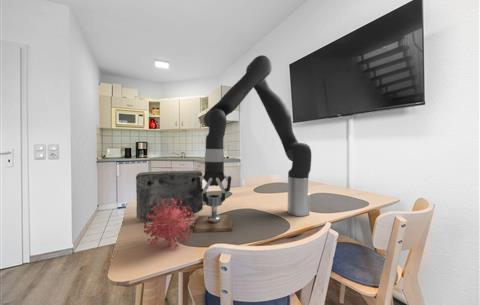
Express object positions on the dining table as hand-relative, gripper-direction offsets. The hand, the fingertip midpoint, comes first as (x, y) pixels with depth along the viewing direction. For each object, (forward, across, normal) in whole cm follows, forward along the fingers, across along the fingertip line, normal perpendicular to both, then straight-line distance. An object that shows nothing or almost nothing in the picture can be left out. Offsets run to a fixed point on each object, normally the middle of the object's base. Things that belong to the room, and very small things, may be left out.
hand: (214, 201), depth 81 cm
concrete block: (+9, +19, -9) cm, 23 cm away
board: (+9, 0, 0) cm, 9 cm away
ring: (+1, 0, 0) cm, 1 cm away
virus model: (+9, +13, +17) cm, 23 cm away
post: (+8, 0, 0) cm, 8 cm away
